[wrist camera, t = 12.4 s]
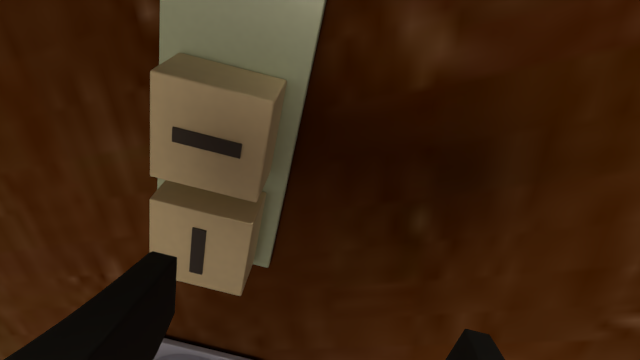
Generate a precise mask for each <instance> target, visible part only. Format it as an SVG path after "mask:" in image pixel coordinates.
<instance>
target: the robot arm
mask: <svg viewBox="0 0 640 360" xmlns="http://www.w3.org/2000/svg"><path fill="white" fill-rule="evenodd" d="M176 273H177V257H174V256H170V255H166V254H162V253H158V252H154V251H152V252H150V253H148V254H147V255H146V256H145V257H143V258H142V259H141V260H140V261H139V262H137V263H136V264H135V265H134V266H132V267H131V268H130V269H129V270H128V271H126V272H125V273H124V274H123V275H121V276H120V277H119V278H118V279H116V280H115V281H114V282H113V283H111V284H110V285H109V286H108V287H106V288H105V289H104V290H102V291H101V292H100V293H98V294H97V295H96V296H94V297H93V298H92V299H90V300H89V301H88V302H86V303H85V304H84V305H82V306H81V307H80V308H78V309H77V310H76V311H74V312H73V313H72V314H70V315H69V316H68V317H66V318H65V319H63V320H62V321H61V322H59V323H58V324H56V325H55V326H53V327H52V328H50V329H49V330H47V331H46V332H45V333H43V334H42V335H40V336H39V337H37V338H36V339H34V340H33V341H31V342H30V343H28V344H27V345H26V346H24V347H22V348H21V349H19V350H18V351H16V352H15V353H13V354H12V355H10V356H9V357H7V358H5V359H4V360H252V359H248V358H244V357H240V356H236V355H232V354H228V353H224V352H220V351H216V350H212V349H207V348H203V347H199V346H195V345H191V344H187V343H183V342H179V341H175V340H171V339H167V338H164V336H165V334H166V332H167V329H168V327H169V325H170V322H171V320H172V318H173V315H174V313H175V294H176ZM446 360H505V359H504V357H503V356H502V354H501V353H500V351H499V349H498V348H497V346H496V344H495V343H494V341H493V340H492V338H491V337H490V335H488V334H484V333H480V332H476V331H472V330H468V329H465V330H464V331H463V333H462V335H461V336H460V338H459V339H458V341H457V342H456V344H455V346H454V347H453V349H452V350H451V352H450V353H449V355H448V357H447V358H446Z"/></svg>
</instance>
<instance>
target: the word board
mask: <svg viewBox="0 0 640 360" xmlns="http://www.w3.org/2000/svg"><path fill="white" fill-rule="evenodd" d="M326 1H327V0H160V39H159V65H158V66H157V67H155V68H154V69H152V70H151V71H150V176H152V177H156V178H158V188H157V191H156V192H155V193H154V194H153V196H152V197H151V198H150V252H152V251H154V252H158V253H162V254H166V255H170V256H174V257H177V273H176V280H177V281H181V282H185V283H189V284H193V285H197V286H201V287H205V288H209V289H213V290H217V291H221V292H225V293H230V294H234V295H238V296H241V294H242V292H243V289H244V286H245V284H246V281H247V278H248V275H249V273H250V270H251V267H252V265H253V264H254V265H258V266H262V267H267V268H268V267H269V264H270V261H271V257H272V252H273V247H274V243H275V238H276V233H277V229H278V224H279V219H280V215H281V210H282V205H283V201H284V196H285V191H286V187H287V182H288V177H289V173H290V168H291V164H292V159H293V154H294V150H295V145H296V140H297V136H298V131H299V126H300V122H301V117H302V112H303V108H304V103H305V98H306V94H307V89H308V84H309V80H310V75H311V70H312V66H313V61H314V56H315V52H316V47H317V43H318V38H319V33H320V29H321V24H322V19H323V15H324V10H325V5H326Z"/></svg>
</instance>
